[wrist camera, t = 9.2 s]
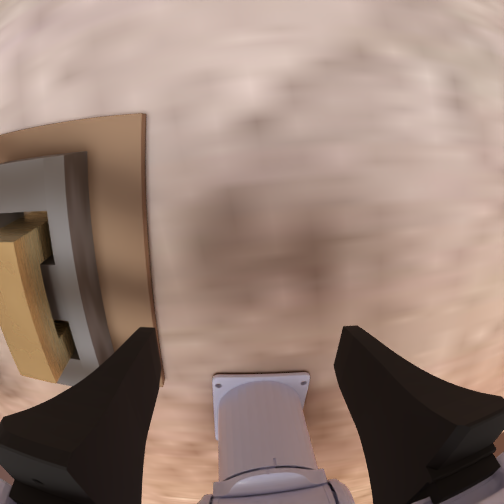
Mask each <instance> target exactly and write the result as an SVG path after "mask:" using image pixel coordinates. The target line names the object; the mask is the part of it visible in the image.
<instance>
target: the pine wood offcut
mask: <svg viewBox="0 0 504 504" xmlns="http://www.w3.org/2000/svg"><path fill="white" fill-rule="evenodd" d="M52 254H53V250H52V244H51V238H50V231H49V223H48V215H47V211H45V212H31V213H29V214H27V215H25V216H23V217H21V218H19V219H17V220H15V221H13V222H11V223H10V224H8V225H6V226H4V227H2V228H0V326H1V329H2V332H3V334H4V337H5V340H6V342H7V345H8V347H9V349H10V352H11V354H12V356H13V359H14V361H15V363H16V365H17V368H18V370H19V372H20V374H21V375H23V376H26V377H30V378H34V379H38V380H43V381H47V382H51V383H57V382H58V380H59V378H60V376H61V374H62V372H63V371H64V369H65V367H66V365H67V363H68V362H69V360H70V358H71V356H72V355H73V353H74V351H75V349H76V346H75V342H74V339H73V336H72V332H71V329H70V326H69V322H68V321H63V320H54V319H53V318H52V314H51V310H50V307H49V303H48V299H47V295H46V291H45V287H44V283H43V278H42V274H41V269H40V264H41V263H42V262H43V261H45V260H46V259H47V258H48V257H49V256H51V255H52Z"/></svg>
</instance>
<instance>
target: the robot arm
mask: <svg viewBox="0 0 504 504" xmlns="http://www.w3.org/2000/svg"><path fill="white" fill-rule="evenodd" d="M161 369H162V367H161V362H160V356H159V349H158V343H157V336H156V330H155V328H152V327H139V328H138V329H137V330H136V331H135V332H134V333H133V334H132V335H131V336H130V337H129V338H128V339H127V340H126V341H125V342H124V343H123V344H122V345H121V346H120V347H119V348H118V349H117V350H116V351H115V352H114V353H113V354H112V355H111V356H110V357H109V358H108V359H107V360H106V361H105V362H104V363H102V364H101V365H100V366H99V367H98V368H97V369H96V370H94V371H93V372H92V373H91V374H89V375H88V376H87V377H85V378H84V379H83V380H81V381H80V382H78V383H77V384H76V385H74V386H72V387H71V388H69V389H67V390H66V391H64V392H62V393H61V394H59V395H57V396H55V397H54V398H52V399H50V400H48V401H46V402H44V403H41V404H39V405H37V406H35V407H32V408H30V409H27V410H24V411H21V412H18V413H15V414H12V415H9V416H5V417H3V419H2V420H1V422H0V465H1V466H2V467H3V468H4V469H5V470H6V471H7V472H8V473H9V474H10V475H11V476H12V477H13V478H14V479H15V480H14V483H13V486H11V485H10V484H9V483H7V482H6V481H4V480H2V479H0V504H141V497H142V476H143V463H144V453H145V445H146V439H147V434H148V430H149V426H150V422H151V418H152V414H153V411H154V407H155V403H156V399H157V395H158V391H159V385H160V377H161ZM334 369H335V373H336V377H337V381H338V384H339V387H340V390H341V392H342V395H343V397H344V399H345V402H346V404H347V406H348V409H349V411H350V414H351V416H352V418H353V421H354V423H355V425H356V428H357V430H358V433H359V436H360V440H361V443H362V447H363V451H364V455H365V459H366V463H367V468H368V472H369V478H370V484H371V489H372V496H373V504H504V452H503V453H502V454H500V455H499V456H498V457H497V458H495V456H494V455H493V453H494V452H495V451H496V447H495V446H494V444H493V442H494V441H495V440H496V439H497V438H498V436H499V435H500V434H501V433H502V431H503V430H504V399H503V397H501V396H496V395H490V394H485V393H480V392H476V391H473V390H469V389H466V388H463V387H460V386H457V385H454V384H452V383H449V382H447V381H444V380H442V379H440V378H437V377H435V376H433V375H431V374H429V373H427V372H425V371H424V370H422V369H420V368H418V367H416V366H415V365H413V364H412V363H410V362H408V361H407V360H405V359H404V358H402V357H401V356H399V355H398V354H396V353H395V352H393V351H392V350H391V349H389V348H388V347H386V346H385V345H384V344H382V343H381V342H380V341H378V340H377V339H376V338H374V337H373V336H372V335H370V334H369V333H367V332H366V331H365V330H363V329H362V328H360V327H359V326H343V330H342V334H341V338H340V342H339V346H338V350H337V354H336V358H335V362H334ZM303 381H304V382H303ZM309 382H310V375H309V373H307V372H299V373H279V374H238V375H227V374H218V375H214V376H213V378H212V386H213V405H214V422H215V438H216V440H218V460H219V482H214V483H213V494H207V495H204V496H203V497H202V499H201V500H200V501H199V502H198V503H197V504H355V503H354V500H353V497H352V495H351V493H350V491H349V489H348V487H347V486H346V485H345V484H343V483H341V482H340V481H339V480H337V479H330V480H327V478H326V475H325V471H324V469H318V467H317V463H316V459H315V455H314V452H313V448H312V444H311V440H310V436H309V432H308V429H307V425H306V421H305V417H304V414H303V407H304V403H305V398H306V394H307V390H308V386H309ZM217 384H220V385H217Z"/></svg>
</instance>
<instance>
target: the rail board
mask: <svg viewBox="0 0 504 504" xmlns="http://www.w3.org/2000/svg"><path fill="white" fill-rule="evenodd" d="M145 135H146V114H143V113H138V114H126V115H115V116H105V117H96V118H88V119H81V120H74V121H67V122H61V123H55V124H49V125H44V126H39V127H34V128H29V129H24V130H19V131H15V132H11V133H6V134H2V135H0V228H2V227H4V226H6V225H8V224H10V223H11V222H13V221H15V220H17V219H19V218H21V217H23V216H25V215H27V214H29V213H31V212H45V211H47V215H48V223H49V231H50V238H51V244H52V250H53V254H52V255H51V256H49V257H48V258H47V259H46V260H45V261H43V262H42V263H41V264H40V269H41V274H42V278H43V283H44V287H45V291H46V295H47V299H48V303H49V307H50V310H51V314H52V318H53V319H54V320H63V321H68V322H69V326H70V329H71V332H72V336H73V339H74V342H75V346H76V349H75V351H74V353H73V355H72V356H71V358H70V360H69V362H68V363H67V365H66V367H65V369H64V371H63V372H62V374H61V376H60V378H59V380H58V382H57V383H58V384H63V385H68V386H74V385H76V384H77V383H78V382H80V381H81V380H83V379H84V378H85V377H87V376H88V375H89V374H91V373H92V372H93V371H94V370H96V369H97V368H98V367H99V366H100V365H101V364H102V363H104V362H105V361H106V360H107V359H108V358H109V357H110V356H111V355H112V354H113V353H114V352H115V351H116V350H117V349H118V348H119V347H120V346H121V345H122V344H123V343H124V342H125V341H126V340H127V339H128V338H129V337H130V336H131V335H132V334H133V333H134V332H135V331H136V330H137V329H138V328H139V327H152V328H155V330H156V336H157V343H158V349H159V356H160V362H161V367H162V369H161V377H160V385H159V387H163V385H164V380H165V377H164V371H163V365H162V359H161V353H160V346H159V340H158V333H157V325H156V318H155V310H154V301H153V292H152V282H151V272H150V260H149V247H148V231H147V212H146V180H145Z"/></svg>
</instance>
